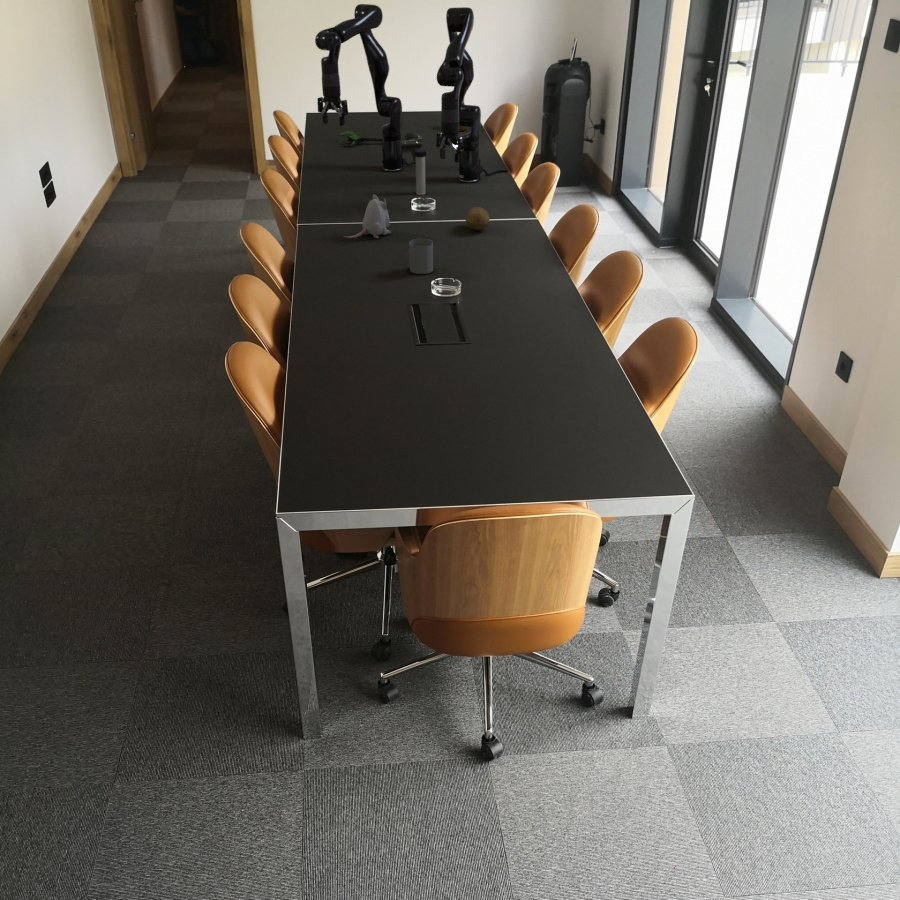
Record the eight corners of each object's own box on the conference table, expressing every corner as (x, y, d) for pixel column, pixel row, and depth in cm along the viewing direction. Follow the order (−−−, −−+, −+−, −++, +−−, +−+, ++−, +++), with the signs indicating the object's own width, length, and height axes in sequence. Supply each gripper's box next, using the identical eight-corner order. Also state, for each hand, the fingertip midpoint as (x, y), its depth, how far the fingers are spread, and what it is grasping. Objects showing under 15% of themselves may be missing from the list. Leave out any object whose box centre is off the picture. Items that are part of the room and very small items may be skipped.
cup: (409, 265, 311) (408, 238, 306) (432, 265, 312) (431, 238, 307) (410, 274, 304) (409, 246, 299) (433, 273, 305) (433, 246, 299)
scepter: (394, 128, 464) (338, 126, 462) (394, 143, 457) (337, 141, 455) (394, 137, 469) (338, 135, 467) (394, 152, 462) (337, 150, 460)
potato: (487, 223, 352) (488, 203, 348) (491, 234, 340) (491, 214, 336) (463, 223, 351) (463, 204, 347) (466, 235, 340) (466, 214, 335)
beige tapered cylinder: (421, 195, 385) (420, 153, 375) (414, 193, 387) (413, 152, 377) (427, 193, 388) (427, 151, 378) (420, 191, 390) (419, 150, 380)
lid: (421, 157, 375) (421, 152, 374) (412, 155, 378) (412, 151, 377) (428, 155, 379) (428, 150, 378) (419, 153, 381) (419, 148, 380)
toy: (396, 233, 341) (395, 195, 333) (351, 248, 326) (349, 209, 318) (381, 228, 346) (379, 190, 338) (336, 243, 332) (333, 204, 324)
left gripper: (350, 84, 364) (352, 124, 372) (322, 81, 370) (325, 121, 378) (339, 87, 358) (342, 128, 367) (311, 84, 364) (315, 124, 373)
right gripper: (468, 121, 353) (468, 162, 362) (444, 116, 362) (444, 155, 371) (455, 124, 349) (455, 165, 358) (431, 118, 358) (431, 158, 366)
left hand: (333, 124), depth 373 cm, fingers open, 8 cm apart
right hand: (449, 160), depth 364 cm, fingers open, 8 cm apart
